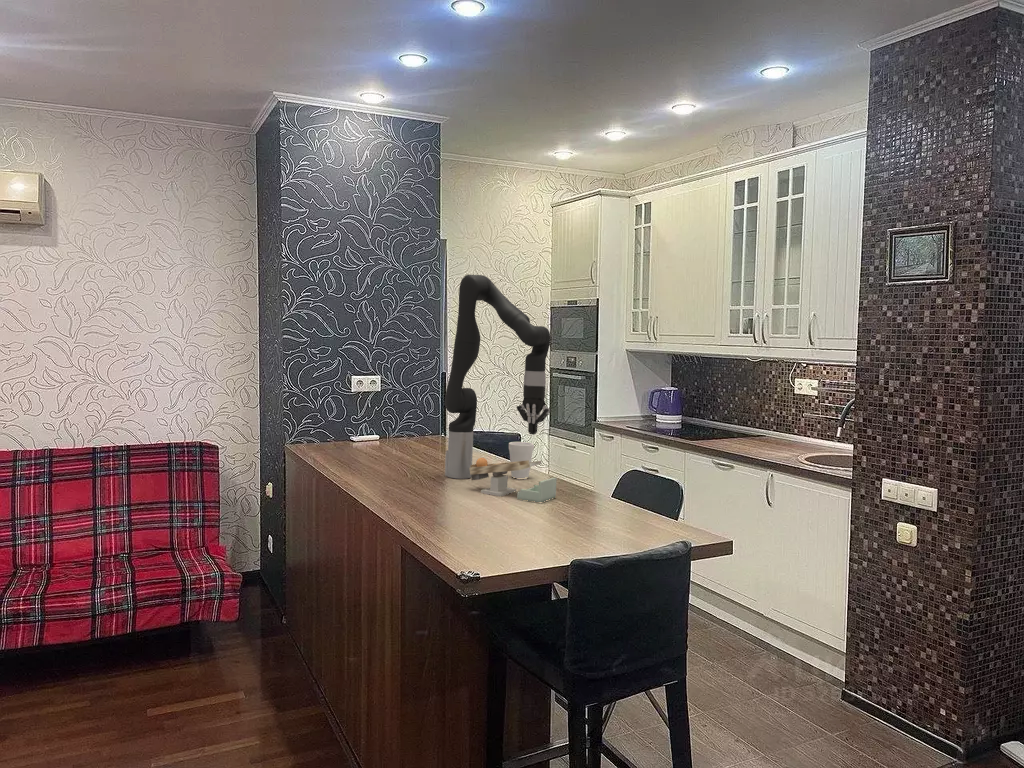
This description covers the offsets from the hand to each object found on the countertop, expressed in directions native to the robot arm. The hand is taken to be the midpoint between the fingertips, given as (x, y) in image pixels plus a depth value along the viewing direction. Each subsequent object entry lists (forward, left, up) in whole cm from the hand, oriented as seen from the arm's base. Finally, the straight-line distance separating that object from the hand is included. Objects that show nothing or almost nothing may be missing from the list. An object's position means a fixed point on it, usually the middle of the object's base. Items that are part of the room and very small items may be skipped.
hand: (532, 434), depth 272 cm
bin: (+8, -9, -20) cm, 23 cm away
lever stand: (-7, -9, -20) cm, 23 cm away
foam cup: (-15, +18, -20) cm, 31 cm away
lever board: (-7, -5, -15) cm, 17 cm away
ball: (-15, -9, -11) cm, 20 cm away
